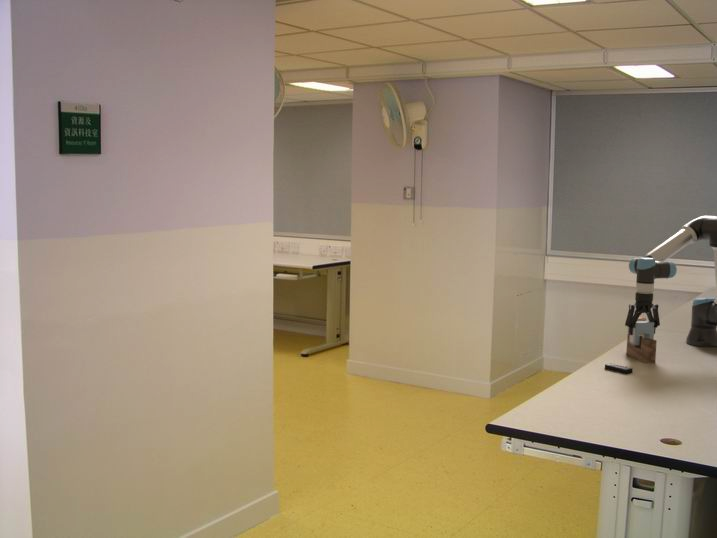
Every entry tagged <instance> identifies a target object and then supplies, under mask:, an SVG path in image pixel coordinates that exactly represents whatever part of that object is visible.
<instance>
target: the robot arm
mask: <svg viewBox="0 0 717 538" xmlns="http://www.w3.org/2000/svg"><path fill="white" fill-rule="evenodd" d="M703 240H704V241H705V240H706V241H708V243H709V247H710V248H711V249H712V250H713V260H714V261H713V263H714V274H715V289H716V291H717V215H707V214H706V215H701V216H699V217H696V218H694V219H692V220H690V221H689V222H687V223H685V224H684V225H682V226H681V227H680V229H679V231H677V232H676V233H675V234H673V235H671V236H670V237H668V238H667V239H666V240H664V241H663V242H661V243H660V244H659V245H657V246H656V247H654V248H653V249H652V250H651V251H649V252H647V253H646V254H644V255H643V256H641V257H634V258H631V260H629V262H628V269H629V271H630V273H632V274H636V279H635V280H636V282H635V283H636V284H635V291H636V292H635V296H634V297H635V299H634V300H635V303H633V304H629V305H628V312H627V316H626V319H625V324H624V326H625V327H627V328H628V327H629V335H630V342H633V343H634V342H635V328H634V326H635V323H636V322H637V320H638V318H639V317H640V316H641V315H642V314H646V316H647V319H648V321H650V322H654V333H653V339H654V340H655V337H654V336H655V334H656V329H657V328H658V327H659V326H661V323H660V315H659V304H656V303H653V301H654V290H655V279H666V280H667V279H670V278H674V277H675V276H676V274H677V270H678V269H677V265H676V264H675V263H674V262H673V261H667V260H668V259H670V258H671V257H672V256H674V255H676V254H678V252H680V251H681V250H683V249H684V248H686V247H687V246H689V245H691V244H696V242H698V241H703ZM690 321H691V322H690V323H691V325H690V329H689V331H688V333H687V336H686V341H685V343H686V344H688V345H692V346H697V347H705V348H713V347H714V348H715V347H717V297H697V298H694V299H693V300H692V305H691V320H690Z"/></svg>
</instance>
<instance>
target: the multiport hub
mask: <svg viewBox="0 0 717 538" xmlns="http://www.w3.org/2000/svg"><path fill="white" fill-rule="evenodd" d="M604 370H607V371H611V372H615V373H618V374H619V373H620V374H623V375H629V374H633V368H632V367H629V366H624V365H619V364H615V363H607V364H604Z"/></svg>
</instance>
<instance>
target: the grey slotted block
mask: <svg viewBox="0 0 717 538" xmlns="http://www.w3.org/2000/svg"><path fill="white" fill-rule="evenodd" d="M634 328H635V342H634V343H633V342H630V343H631V344H634V345H639V339H640V334H644V338H651V339H653V333H654V322H650V321H649V320H646V321H637V322H636V323H635V326H634Z"/></svg>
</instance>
